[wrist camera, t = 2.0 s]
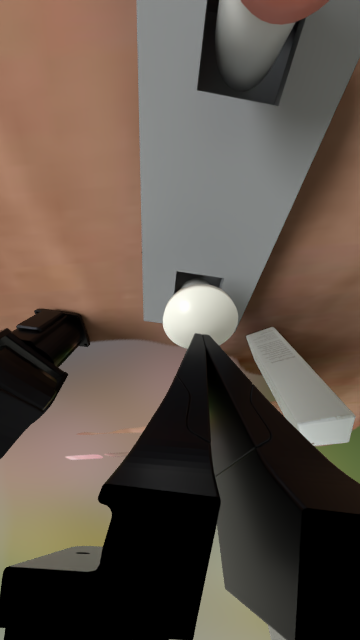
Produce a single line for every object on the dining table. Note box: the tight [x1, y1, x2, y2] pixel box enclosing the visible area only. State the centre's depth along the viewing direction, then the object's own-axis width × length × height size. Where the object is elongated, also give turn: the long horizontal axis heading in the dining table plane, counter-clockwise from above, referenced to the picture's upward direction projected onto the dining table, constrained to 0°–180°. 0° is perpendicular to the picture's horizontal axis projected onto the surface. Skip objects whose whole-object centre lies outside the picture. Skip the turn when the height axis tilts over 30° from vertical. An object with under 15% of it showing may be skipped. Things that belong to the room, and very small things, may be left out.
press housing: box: [137, 0, 360, 333], centre depth 11 cm, size 20×10×5 cm, turn 173°
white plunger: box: [163, 278, 238, 349], centre depth 11 cm, size 5×5×5 cm
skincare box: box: [246, 327, 355, 446], centre depth 17 cm, size 6×4×12 cm
